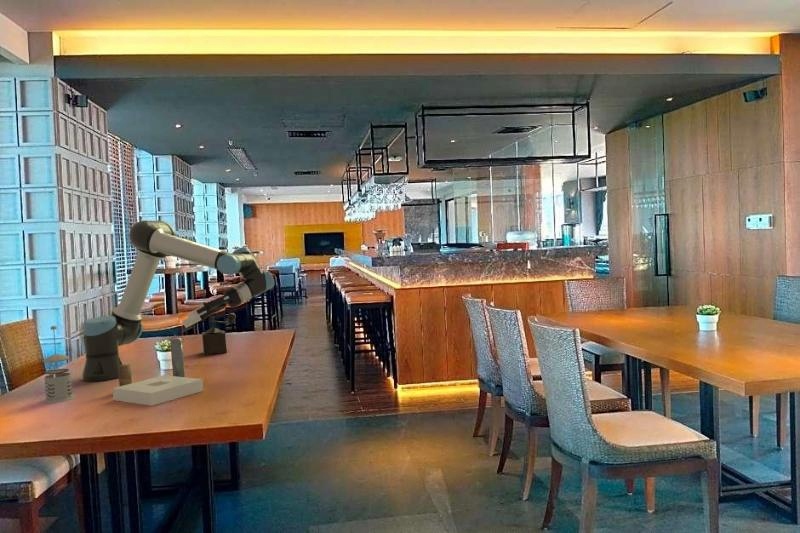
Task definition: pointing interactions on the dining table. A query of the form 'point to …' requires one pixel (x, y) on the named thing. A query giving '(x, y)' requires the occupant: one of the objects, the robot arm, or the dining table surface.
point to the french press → (57, 379)
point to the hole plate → (157, 390)
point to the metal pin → (177, 357)
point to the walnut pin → (124, 374)
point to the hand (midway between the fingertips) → (186, 321)
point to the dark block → (215, 338)
